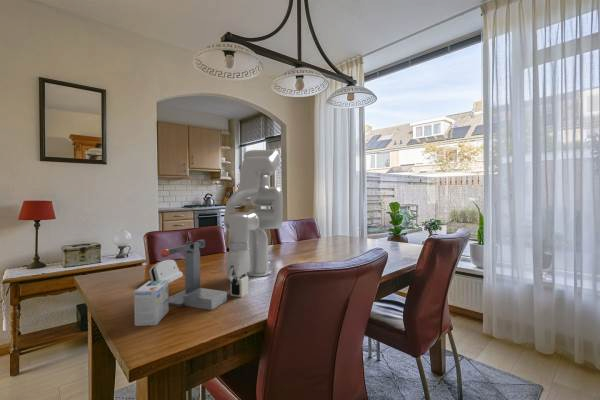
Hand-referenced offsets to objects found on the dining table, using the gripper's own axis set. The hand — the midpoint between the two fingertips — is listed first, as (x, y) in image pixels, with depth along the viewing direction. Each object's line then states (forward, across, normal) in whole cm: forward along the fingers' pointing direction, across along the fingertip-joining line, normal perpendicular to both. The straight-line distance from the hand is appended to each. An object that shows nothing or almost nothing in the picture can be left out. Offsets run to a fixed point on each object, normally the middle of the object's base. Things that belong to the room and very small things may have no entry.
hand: (239, 291), depth 118 cm
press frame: (+1, +11, -11) cm, 16 cm away
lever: (-16, +9, -19) cm, 26 cm away
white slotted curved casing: (+1, -5, -41) cm, 42 cm away
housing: (+1, 0, 0) cm, 1 cm away
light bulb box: (+1, +29, -14) cm, 32 cm away
